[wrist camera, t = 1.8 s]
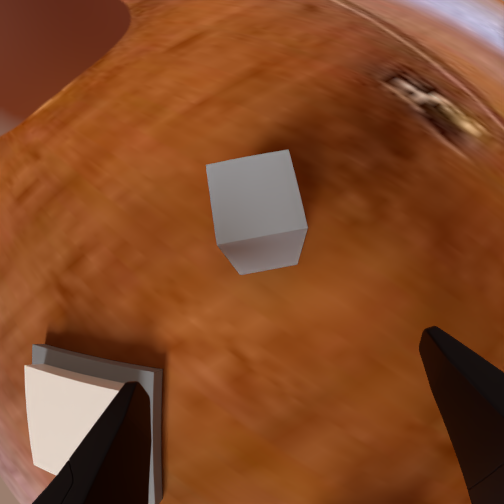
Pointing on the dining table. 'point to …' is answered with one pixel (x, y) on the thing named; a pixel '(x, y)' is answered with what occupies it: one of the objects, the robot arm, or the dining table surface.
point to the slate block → (257, 211)
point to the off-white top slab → (62, 411)
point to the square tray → (118, 373)
